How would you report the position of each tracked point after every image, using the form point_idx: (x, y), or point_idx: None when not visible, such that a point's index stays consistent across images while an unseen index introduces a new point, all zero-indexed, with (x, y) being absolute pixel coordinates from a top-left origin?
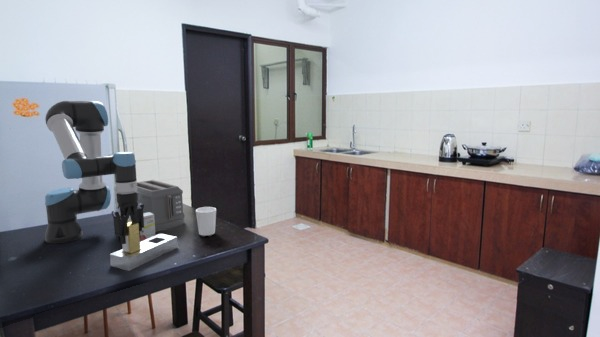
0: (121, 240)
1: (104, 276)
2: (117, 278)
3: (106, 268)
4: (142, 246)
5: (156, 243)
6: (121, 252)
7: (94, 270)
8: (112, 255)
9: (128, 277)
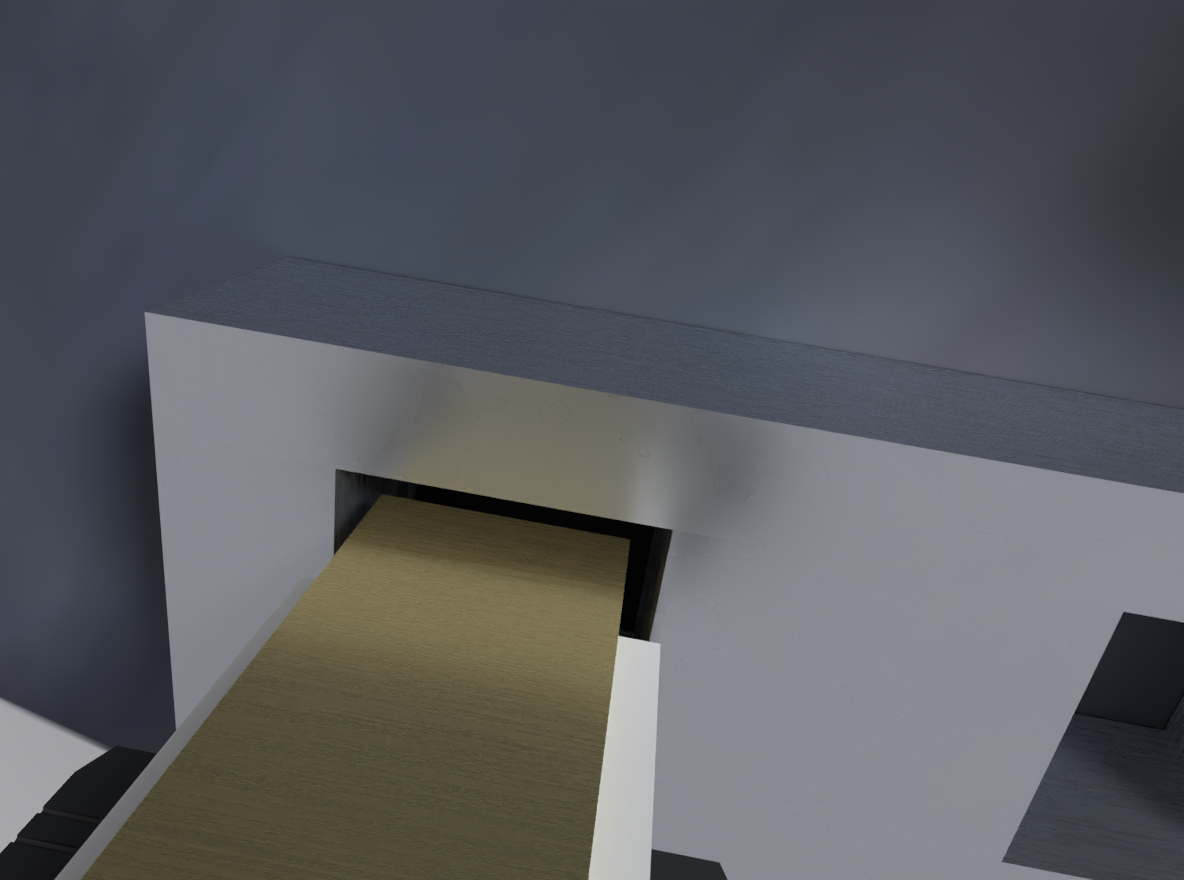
0: (21, 871)
1: (9, 436)
2: (71, 632)
3: (193, 252)
4: (771, 705)
5: (1004, 862)
6: (331, 500)
7: (39, 102)
8: (161, 394)
9: (159, 731)
